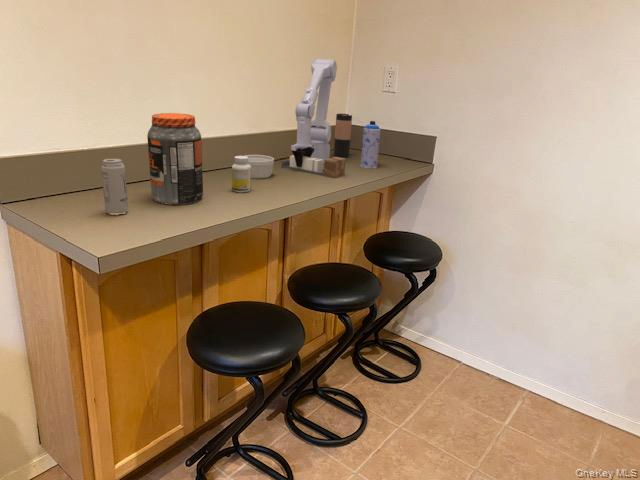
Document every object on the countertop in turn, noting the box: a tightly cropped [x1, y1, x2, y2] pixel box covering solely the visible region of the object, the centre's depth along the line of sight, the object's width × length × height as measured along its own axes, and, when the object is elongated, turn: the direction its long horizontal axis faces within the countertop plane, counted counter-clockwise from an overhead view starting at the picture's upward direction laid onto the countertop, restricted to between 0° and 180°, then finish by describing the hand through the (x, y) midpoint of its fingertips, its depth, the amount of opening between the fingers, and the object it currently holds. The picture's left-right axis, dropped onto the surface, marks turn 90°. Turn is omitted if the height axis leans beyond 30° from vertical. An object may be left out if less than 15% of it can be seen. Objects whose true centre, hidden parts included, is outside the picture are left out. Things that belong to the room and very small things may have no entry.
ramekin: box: [245, 154, 275, 180], centre depth 188 cm, size 13×13×7 cm
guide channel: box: [280, 159, 325, 177], centre depth 203 cm, size 8×22×2 cm, turn 57°
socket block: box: [323, 156, 347, 179], centre depth 195 cm, size 8×5×7 cm, turn 147°
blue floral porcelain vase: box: [359, 120, 381, 170], centre depth 214 cm, size 8×8×20 cm
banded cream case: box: [289, 154, 324, 173], centre depth 203 cm, size 5×14×5 cm, turn 57°
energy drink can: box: [100, 158, 129, 213], centre depth 134 cm, size 6×6×15 cm
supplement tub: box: [146, 112, 204, 205], centre depth 149 cm, size 16×16×26 cm
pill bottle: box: [231, 155, 252, 193], centre depth 165 cm, size 6×6×12 cm
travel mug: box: [333, 113, 353, 159], centre depth 233 cm, size 8×8×20 cm
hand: (302, 165), depth 204 cm, fingers closed on banded cream case, 4 cm apart
